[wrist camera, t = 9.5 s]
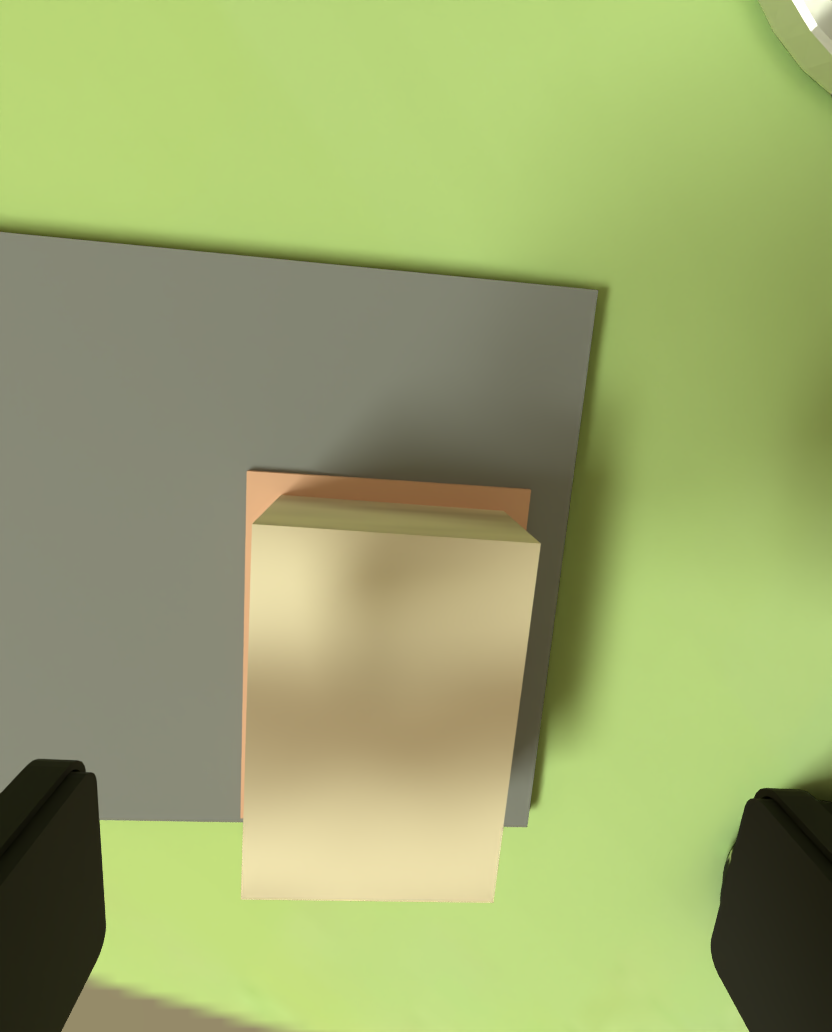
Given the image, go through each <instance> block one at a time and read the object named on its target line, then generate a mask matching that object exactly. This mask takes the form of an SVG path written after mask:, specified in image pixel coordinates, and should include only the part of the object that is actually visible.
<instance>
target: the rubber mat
mask: <svg viewBox="0 0 832 1032" xmlns="http://www.w3.org/2000/svg"><path fill="white" fill-rule="evenodd" d="M597 295H598V290H592V289H582V288H571V287H561V286H551V285H541V284H530V283H520V282H510V281H499V280H489V279H479V278H468V277H458V276H448V275H438V274H427V273H417V272H407V271H396V270H386V269H376V268H366V267H355V266H345V265H335V264H324V263H314V262H304V261H294V260H283V259H273V258H263V257H252V256H242V255H232V254H222V253H211V252H201V251H191V250H180V249H170V248H160V247H150V246H139V245H129V244H119V243H108V242H98V241H88V240H78V239H67V238H57V237H47V236H36V235H26V234H16V233H5V232H0V793H1V792H2V791H3V790H4V789H5V788H6V787H7V786H8V785H9V784H10V783H11V781H12V780H13V779H14V778H15V777H16V776H17V775H18V774H19V773H20V772H21V771H22V770H23V769H24V768H25V767H26V766H27V765H28V764H29V763H30V762H31V761H33V760H36V759H59V760H79V761H82V762H83V764H84V765H85V769H86V772H92V773H94V774H95V776H96V779H97V790H98V806H99V820H138V821H197V822H243V812H244V778H245V744H246V710H247V676H248V642H249V608H250V573H251V539H252V524H253V523H254V522H255V521H256V520H257V519H258V518H259V517H260V516H261V515H262V514H263V512H264V511H265V510H266V509H267V508H268V507H269V506H270V505H271V504H272V503H273V502H274V501H275V500H276V499H277V498H278V497H279V496H280V495H291V496H305V497H319V498H333V499H347V500H361V501H374V502H388V503H402V504H416V505H430V506H444V507H458V508H472V509H486V510H499V511H504V512H506V513H507V514H508V515H509V516H510V517H511V518H512V519H513V520H515V521H516V522H517V523H518V524H519V525H520V526H521V527H523V528H524V529H525V530H526V531H527V532H528V533H529V534H531V535H532V536H533V537H534V538H535V539H536V540H537V541H538V542H540V543H541V546H540V554H539V561H538V569H537V576H536V584H535V591H534V599H533V607H532V614H531V622H530V629H529V637H528V644H527V652H526V659H525V667H524V675H523V682H522V690H521V697H520V705H519V712H518V720H517V727H516V735H515V742H514V750H513V758H512V765H511V773H510V780H509V788H508V795H507V803H506V810H505V818H504V826H503V827H527V824H528V817H529V809H530V802H531V794H532V787H533V779H534V771H535V764H536V756H537V749H538V741H539V734H540V726H541V719H542V711H543V703H544V696H545V688H546V681H547V673H548V666H549V658H550V650H551V643H552V635H553V628H554V620H555V613H556V605H557V598H558V590H559V582H560V575H561V567H562V560H563V552H564V545H565V537H566V530H567V522H568V514H569V507H570V499H571V492H572V484H573V477H574V469H575V462H576V454H577V446H578V439H579V431H580V424H581V416H582V409H583V401H584V393H585V386H586V378H587V371H588V363H589V356H590V348H591V341H592V333H593V325H594V318H595V310H596V303H597Z"/></svg>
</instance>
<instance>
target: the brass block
mask: <svg viewBox="0 0 832 1032" xmlns="http://www.w3.org/2000/svg"><path fill="white" fill-rule="evenodd" d="M540 546H541V543H540V542H538V541H537V540H536V539H535V538H534V537H533V536H532V535H531V534H529V533H528V532H527V531H526V530H525V529H524V528H523V527H521V526H520V525H519V524H518V523H517V522H516V521H515V520H513V519H512V518H511V517H510V516H509V515H508V514H507V513H506V512H504V511H499V510H486V509H472V508H458V507H444V506H430V505H416V504H402V503H388V502H374V501H361V500H347V499H333V498H319V497H305V496H291V495H280V496H279V497H278V498H277V499H276V500H275V501H274V502H273V503H272V504H271V505H270V506H269V507H268V508H267V509H266V510H265V511H264V512H263V514H262V515H261V516H260V517H259V518H258V519H257V520H256V521H255V522H254V523H253V524H252V539H251V573H250V608H249V642H248V676H247V710H246V744H245V778H244V812H243V847H242V881H241V899H255V900H331V901H406V902H482V903H493V901H494V893H495V886H496V878H497V871H498V863H499V856H500V848H501V841H502V833H503V826H504V818H505V810H506V803H507V795H508V788H509V780H510V773H511V765H512V758H513V750H514V742H515V735H516V727H517V720H518V712H519V705H520V697H521V690H522V682H523V675H524V667H525V659H526V652H527V644H528V637H529V629H530V622H531V614H532V607H533V599H534V591H535V584H536V576H537V569H538V561H539V554H540Z"/></svg>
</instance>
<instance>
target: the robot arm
mask: <svg viewBox="0 0 832 1032" xmlns="http://www.w3.org/2000/svg"><path fill="white" fill-rule="evenodd" d="M758 2H759V4H760V6H761V8H762V10H763V12H764V14H765V16H766V18H767V20H768V22H769V24H770V26H771V28H772V30H773V32H774V33H775V35H776V36H777V37H778V39H779V40H780V41H781V43H782V44H783V45H784V47H785V48H786V49H787V50H788V52H789V53H790V54H791V56H792V57H793V58H794V60H795V61H796V62H797V64H798V65H799V66H800V68H801V69H802V70H803V71H804V72H805V73H806V74H808V75H809V76H810V77H811V78H812V79H813V80H815V81H816V82H817V83H818V84H819V85H821V86H822V87H823V88H824V89H825V90H826V91H828V92H829V93H830V94H831V95H832V0H758ZM105 931H106V919H105V903H104V887H103V871H102V855H101V838H100V822H99V806H98V790H97V779H96V776H95V774H94V773H92V772H86V769H85V765H84V764H83V762H82V761H79V760H59V759H36V760H33V761H31V762H30V763H29V764H28V765H27V766H26V767H25V768H24V769H23V770H22V771H21V772H20V773H19V774H18V775H17V776H16V777H15V778H14V779H13V780H12V781H11V783H10V784H9V785H8V786H7V787H6V788H5V789H4V790H3V791H2V792H1V793H0V1032H61V1031H62V1029H63V1027H64V1024H65V1023H66V1021H67V1019H68V1017H69V1015H70V1013H71V1011H72V1009H73V1007H74V1005H75V1003H76V1001H77V999H78V997H79V995H80V993H81V991H82V989H83V987H84V985H85V983H86V981H87V979H88V977H89V975H90V973H91V971H92V969H93V967H94V965H95V963H96V961H97V959H98V957H99V955H100V952H101V949H102V946H103V942H104V938H105ZM711 954H712V959H713V962H714V965H715V968H716V970H717V973H718V975H719V977H720V978H721V980H722V982H723V984H724V986H725V988H726V989H727V991H728V993H729V995H730V997H731V999H732V1000H733V1002H734V1004H735V1006H736V1008H737V1010H738V1011H739V1013H740V1015H741V1017H742V1019H743V1021H744V1022H745V1024H746V1026H747V1028H748V1030H749V1032H832V815H831V814H830V813H829V812H828V811H827V810H826V809H825V808H824V807H823V806H822V805H821V804H820V803H819V802H818V801H817V800H816V799H815V798H814V797H813V796H812V795H810V794H809V793H808V792H806V791H803V790H799V789H775V788H764V789H760V790H759V791H758V792H757V793H756V795H755V797H754V799H750V800H748V801H747V803H746V805H745V808H744V812H743V816H742V820H741V824H740V828H739V832H738V836H737V840H736V844H735V848H734V852H733V856H732V859H731V863H730V867H729V871H728V875H727V879H726V883H725V887H724V891H723V895H722V899H721V903H720V907H719V911H718V915H717V919H716V923H715V926H714V930H713V934H712V938H711Z"/></svg>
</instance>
